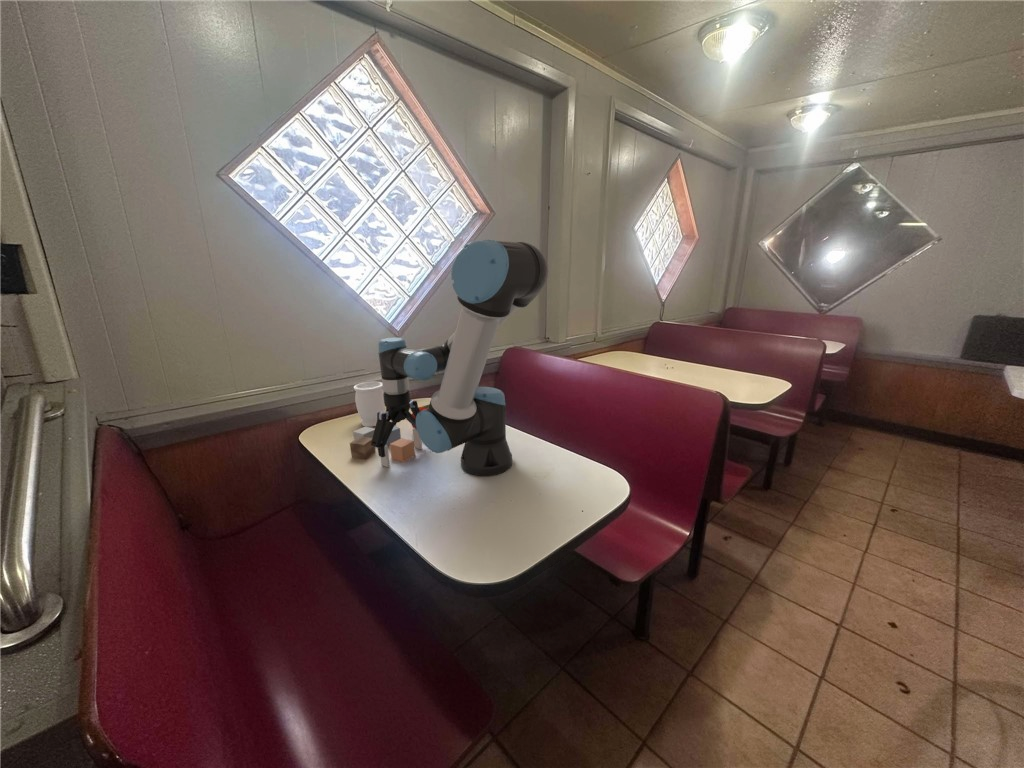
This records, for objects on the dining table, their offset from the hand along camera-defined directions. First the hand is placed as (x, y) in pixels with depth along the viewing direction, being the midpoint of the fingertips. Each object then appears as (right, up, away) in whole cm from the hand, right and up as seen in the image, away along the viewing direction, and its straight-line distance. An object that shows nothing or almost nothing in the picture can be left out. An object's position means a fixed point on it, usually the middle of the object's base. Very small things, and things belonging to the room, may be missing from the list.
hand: (402, 456), depth 122 cm
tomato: (+5, +5, +18) cm, 20 cm away
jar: (-19, +7, +28) cm, 34 cm away
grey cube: (-15, +2, +10) cm, 18 cm away
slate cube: (-7, +3, +11) cm, 13 cm away
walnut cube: (-13, 0, +2) cm, 13 cm away
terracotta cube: (0, 0, 0) cm, 0 cm away
